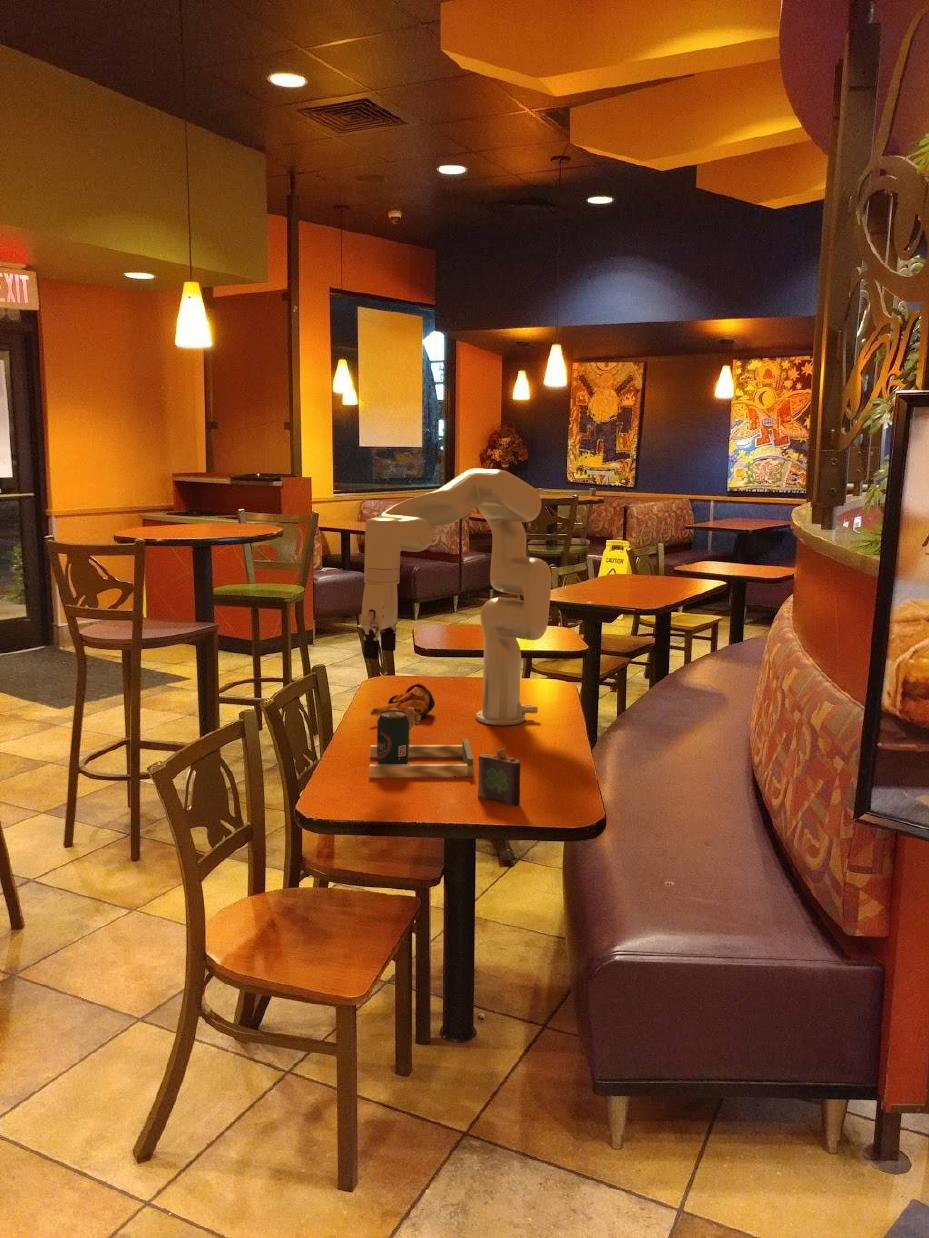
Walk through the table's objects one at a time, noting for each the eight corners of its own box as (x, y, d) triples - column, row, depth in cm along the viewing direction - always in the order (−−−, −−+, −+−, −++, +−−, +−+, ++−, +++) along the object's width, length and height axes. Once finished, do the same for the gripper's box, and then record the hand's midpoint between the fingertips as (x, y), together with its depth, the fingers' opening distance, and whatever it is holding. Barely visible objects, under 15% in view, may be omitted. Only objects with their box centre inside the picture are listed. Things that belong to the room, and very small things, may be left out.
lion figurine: (423, 744, 229) (423, 707, 228) (403, 748, 226) (404, 710, 225) (392, 728, 241) (392, 693, 240) (373, 731, 238) (373, 696, 237)
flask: (475, 797, 196) (476, 746, 194) (482, 793, 198) (484, 743, 196) (516, 807, 191) (518, 755, 189) (522, 803, 194) (525, 751, 192)
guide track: (467, 755, 222) (467, 738, 221) (472, 776, 208) (473, 758, 207) (370, 755, 220) (370, 738, 219) (369, 777, 206) (369, 759, 205)
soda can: (370, 765, 214) (371, 712, 212) (396, 759, 218) (396, 707, 216) (389, 773, 209) (389, 719, 206) (414, 767, 213) (415, 714, 211)
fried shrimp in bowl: (448, 698, 252) (405, 689, 238) (427, 734, 254) (382, 727, 240) (426, 679, 257) (383, 669, 243) (405, 714, 259) (361, 706, 245)
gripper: (380, 570, 217) (378, 646, 220) (349, 579, 201) (347, 660, 204) (412, 573, 215) (409, 649, 218) (383, 581, 199) (381, 663, 202)
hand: (379, 654), depth 211 cm, fingers open, 9 cm apart
